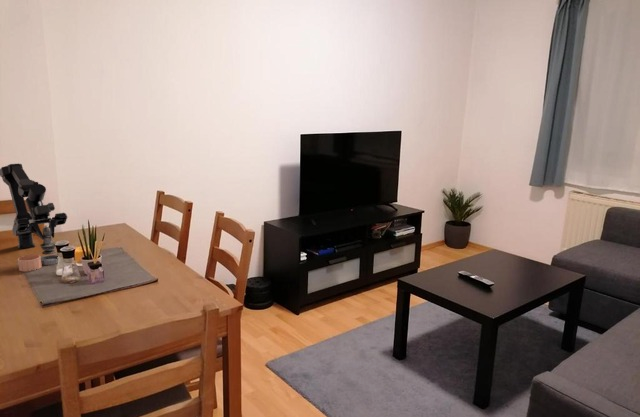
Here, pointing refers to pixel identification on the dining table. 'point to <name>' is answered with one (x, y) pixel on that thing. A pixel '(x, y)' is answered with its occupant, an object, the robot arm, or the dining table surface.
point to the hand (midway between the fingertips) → (48, 238)
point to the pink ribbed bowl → (29, 262)
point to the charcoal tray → (49, 260)
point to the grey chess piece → (47, 242)
